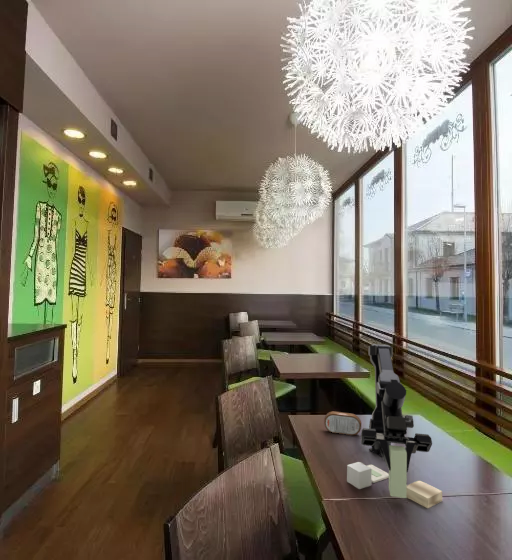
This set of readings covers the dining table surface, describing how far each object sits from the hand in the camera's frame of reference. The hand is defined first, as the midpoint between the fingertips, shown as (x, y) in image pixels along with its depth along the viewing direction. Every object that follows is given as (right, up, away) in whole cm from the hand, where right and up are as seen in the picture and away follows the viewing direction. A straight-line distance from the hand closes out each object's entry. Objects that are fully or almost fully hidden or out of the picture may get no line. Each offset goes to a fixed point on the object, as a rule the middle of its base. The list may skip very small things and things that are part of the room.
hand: (398, 471), depth 98 cm
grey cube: (-8, -10, +11) cm, 16 cm away
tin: (-3, -12, +51) cm, 52 cm away
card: (-2, -10, +17) cm, 20 cm away
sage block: (0, -7, +1) cm, 7 cm away
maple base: (+8, -10, +4) cm, 13 cm away
